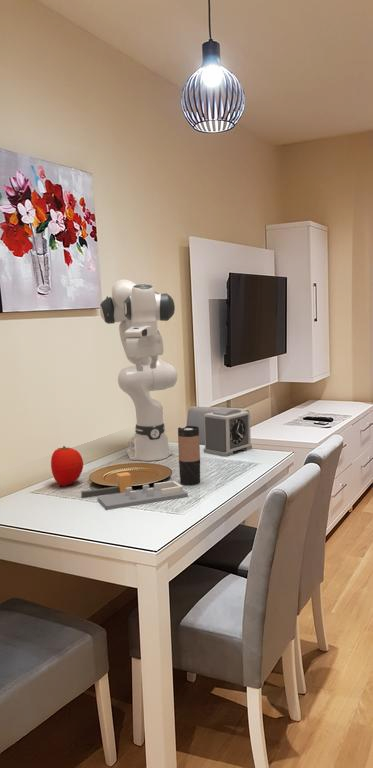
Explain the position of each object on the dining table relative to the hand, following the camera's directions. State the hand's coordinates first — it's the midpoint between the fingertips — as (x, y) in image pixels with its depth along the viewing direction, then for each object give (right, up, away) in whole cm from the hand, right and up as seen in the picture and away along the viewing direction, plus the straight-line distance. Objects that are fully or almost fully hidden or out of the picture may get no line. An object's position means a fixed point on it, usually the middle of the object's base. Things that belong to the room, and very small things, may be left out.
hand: (146, 369), depth 222 cm
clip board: (0, -43, -14) cm, 45 cm away
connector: (-13, -43, -7) cm, 45 cm away
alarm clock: (+32, -34, +48) cm, 67 cm away
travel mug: (+15, -41, +2) cm, 44 cm away
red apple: (-29, -42, +6) cm, 51 cm away
